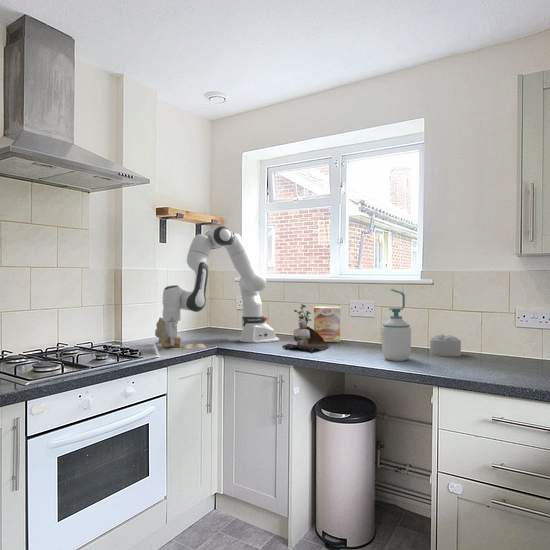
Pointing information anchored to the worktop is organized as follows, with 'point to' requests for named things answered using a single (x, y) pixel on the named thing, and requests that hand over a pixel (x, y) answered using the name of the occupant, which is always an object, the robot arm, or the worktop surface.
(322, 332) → the coffeecake box
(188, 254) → the robot arm
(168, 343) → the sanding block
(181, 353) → the worktop surface
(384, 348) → the soap bottle
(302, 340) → the potted plant
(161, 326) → the stone tool
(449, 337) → the lumpy-topped squat cylinder
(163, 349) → the board
